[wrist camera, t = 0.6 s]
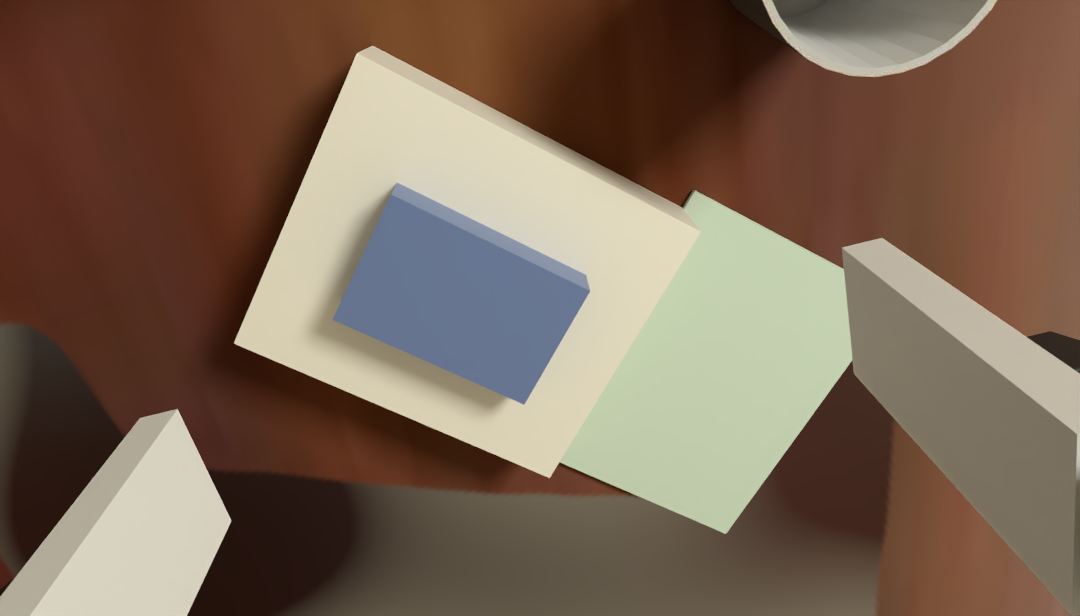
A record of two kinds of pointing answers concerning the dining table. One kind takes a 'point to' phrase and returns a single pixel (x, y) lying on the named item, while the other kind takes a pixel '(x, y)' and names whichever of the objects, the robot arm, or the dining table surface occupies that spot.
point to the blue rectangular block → (461, 295)
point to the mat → (720, 371)
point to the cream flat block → (491, 199)
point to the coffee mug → (867, 30)
